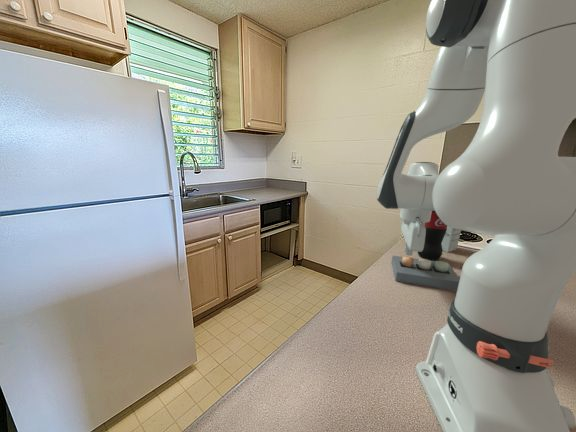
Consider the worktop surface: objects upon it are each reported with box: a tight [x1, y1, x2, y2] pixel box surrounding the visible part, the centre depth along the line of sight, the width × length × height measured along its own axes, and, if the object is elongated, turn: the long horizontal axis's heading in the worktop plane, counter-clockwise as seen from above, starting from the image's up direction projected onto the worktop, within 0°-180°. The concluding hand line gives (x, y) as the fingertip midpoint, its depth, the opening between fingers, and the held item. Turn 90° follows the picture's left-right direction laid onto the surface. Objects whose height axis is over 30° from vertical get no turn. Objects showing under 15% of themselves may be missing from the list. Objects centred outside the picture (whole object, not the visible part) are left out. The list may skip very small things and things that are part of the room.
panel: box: [391, 255, 460, 292], centre depth 81 cm, size 14×18×3 cm
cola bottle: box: [417, 211, 447, 261], centre depth 92 cm, size 8×8×30 cm
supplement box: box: [442, 226, 462, 253], centre depth 105 cm, size 7×7×13 cm
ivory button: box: [418, 258, 432, 269], centre depth 80 cm, size 4×4×2 cm
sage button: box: [435, 260, 450, 272], centre depth 79 cm, size 4×4×2 cm
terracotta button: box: [401, 255, 415, 267], centre depth 82 cm, size 4×4×2 cm
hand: (408, 253), depth 81 cm, fingers closed
